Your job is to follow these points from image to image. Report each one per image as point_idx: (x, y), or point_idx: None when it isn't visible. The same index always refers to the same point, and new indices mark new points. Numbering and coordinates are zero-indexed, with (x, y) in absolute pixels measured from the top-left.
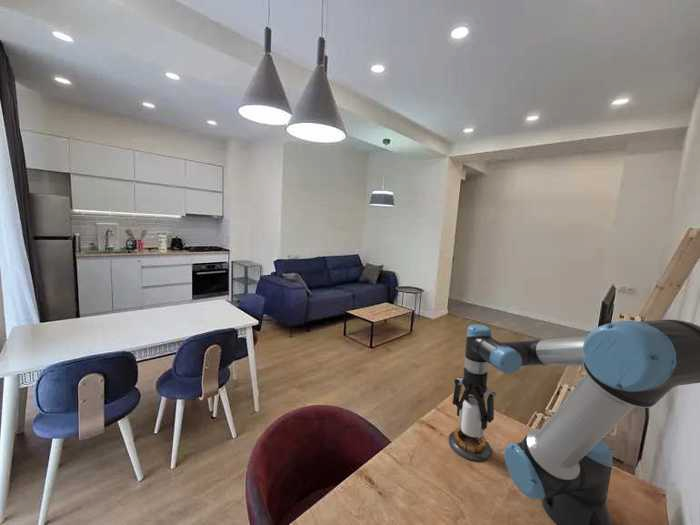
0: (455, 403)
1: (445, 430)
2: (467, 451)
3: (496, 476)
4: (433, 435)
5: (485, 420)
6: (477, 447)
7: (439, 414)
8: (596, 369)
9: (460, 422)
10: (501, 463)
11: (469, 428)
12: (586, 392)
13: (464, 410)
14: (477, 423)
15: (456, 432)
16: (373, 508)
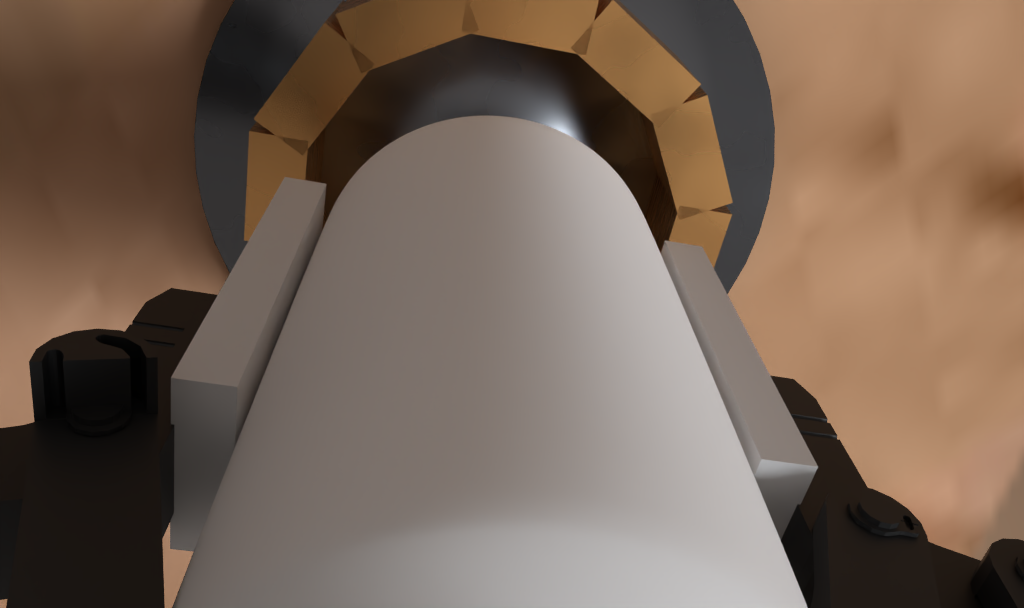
0: (1005, 580)
1: (836, 251)
2: None
3: None
4: (984, 36)
5: (40, 426)
6: (308, 57)
7: (958, 478)
8: None
9: (687, 288)
10: (46, 125)
11: (464, 172)
12: None
13: (689, 423)
14: (296, 316)
15: (694, 186)
16: None
